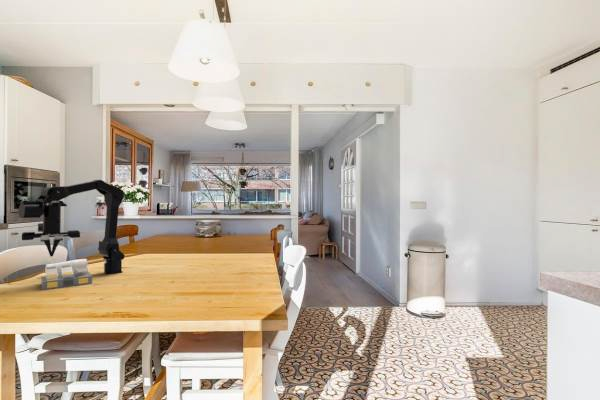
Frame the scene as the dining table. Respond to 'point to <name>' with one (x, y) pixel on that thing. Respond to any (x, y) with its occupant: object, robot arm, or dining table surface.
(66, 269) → the switch
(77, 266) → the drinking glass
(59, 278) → the pill organizer box
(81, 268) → the switch
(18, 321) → the dining table surface
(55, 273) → the switch
